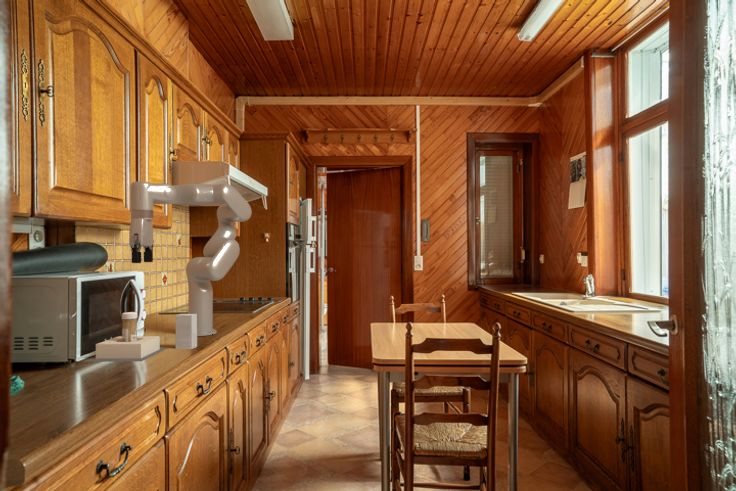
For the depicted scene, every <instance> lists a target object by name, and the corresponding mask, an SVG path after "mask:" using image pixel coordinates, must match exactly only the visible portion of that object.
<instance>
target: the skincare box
mask: <svg viewBox="0 0 736 491" xmlns="http://www.w3.org/2000/svg"><path fill="white" fill-rule="evenodd" d="M197 347H198V336H197V314H188V313H179V314H175V349H176V350H178V349H179V350H192V349H196V348H197Z"/></svg>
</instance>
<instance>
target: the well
mask: <svg viewBox="0 0 736 491" xmlns="http://www.w3.org/2000/svg"><path fill="white" fill-rule="evenodd" d="M160 340H161V338H160V336H159V335H156V336H154V335H153V336H152V335H150V336H149V335H148V336H147V335H143V336H142V335H141V336H139V335H137V341H136V342H122V335H119V336H116V337H113V338H110V339H107V340H105V341H104V340H103V341H102V342H98V343H95V356H96V359H125V358H143V357H145V356H147V355H149V354H151V353H153V352H155V351H157V350H159V349H160V348H161V347H160V344H161V341H160Z"/></svg>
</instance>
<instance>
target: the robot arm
mask: <svg viewBox="0 0 736 491" xmlns="http://www.w3.org/2000/svg"><path fill="white" fill-rule="evenodd" d="M129 187H130V223H129V235H128V236H129V237H128V238H129V240H128V243H129V244H128V245H129V246H130V251H131V263H132V264H142V251H141V250H142V247H143V250H144V251H143V263H153V262H154V248H155V247H154V243H155V239H154V227H153V220H154V205H178V206H179V205H181V206H182V205H183V206H187V205H189V206H194V205H195V206H198V205H203V206H204V205H207V206H209V205H213V206H214V205H219V207H218V208H217V210H216V216H217V217H216V218H217V223H218V227H217V229H216V231H215V232H214V234H213V235H212V236H211V237H210V239H209V240H208V241H207V242H206V244H205V246H204V247H203V250H202V253H203V256H198V257H193V258H191V259H190V260H188V262H187V263H186V266H185V274H186V278H187V286H188V288H187V290H188V291H187V292H188V293H187V295H188V299H187V300H188V301H187V302H188V304H187V305H188V306H187V309H188V311H187V314H197V337H204V336H205V337H207V336H212V334H213V335H216V334H217V332H218V331H217V329H214V328H213V327H214V326H213V325H214V324H213V321H214V320H213V319H214V317H213V316H214V315H213V314H214V310H213V309H214V308H213V307H214V304H213V303H214V300H213V298H214V290H213V286H212V285H213V284H212V282H211V281H214V282H215V281H217V282H218V281H221V280H223V279H224V277H225V276H227V274H228V272H229V271H230V270H231V268H232V267H233V265H234V264H235V262H236V261H237V259H238V258H239V257H240V256H239V255H240V250H241V249H240V245H239V243H238V241H237V240H236V237H237V229H236V226H235V223H239V222H241V223H242V222H246V221H248V220H250V218H251V217H252V208H251V205H250V204H249V202H247V200H246V199H245V198H244V196H242V195H241V193H240V191H238V190H237V189H236V188H235V187H234V186H233V185H231V184H230V183H217V184H211V183H210V184H206V183H205V184H204V183H183V184H177V185H175V184H174V185H171V184H169V183H163V182H162V183H161V182H160V183H159V182H158V183H157V182H156V183H155V182H154V183H152V182H149V181H142V180H141V181H133V182H131V184H130V186H129Z"/></svg>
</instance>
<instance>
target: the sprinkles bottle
mask: <svg viewBox="0 0 736 491" xmlns="http://www.w3.org/2000/svg"><path fill="white" fill-rule="evenodd" d="M121 320H122V329H121V332H122V335H121V336H122V342H136V341H137V336H138V321H137V320H138V312H136V311H129V312H123V313H121Z"/></svg>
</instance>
